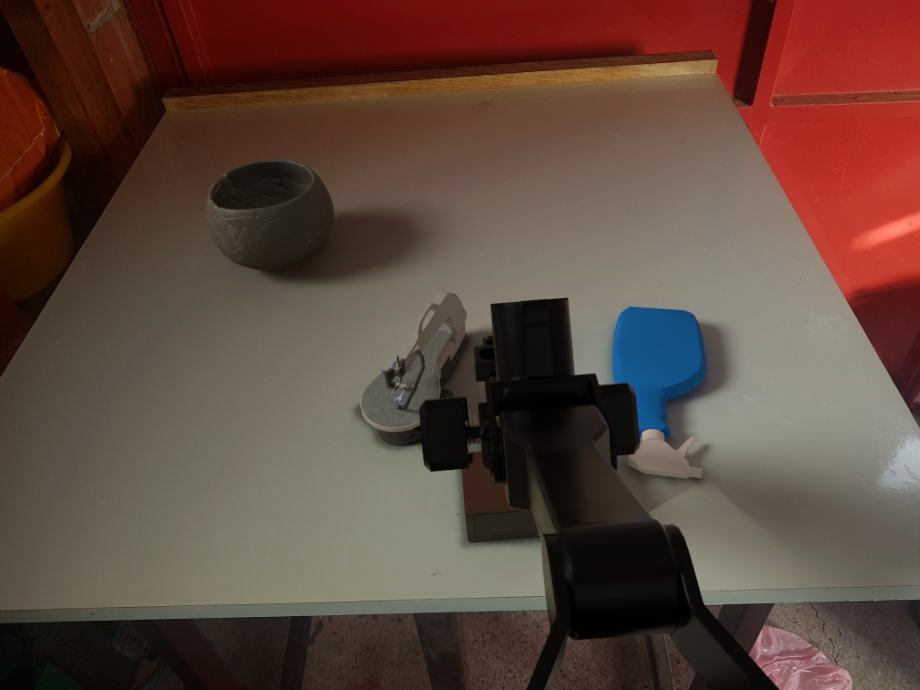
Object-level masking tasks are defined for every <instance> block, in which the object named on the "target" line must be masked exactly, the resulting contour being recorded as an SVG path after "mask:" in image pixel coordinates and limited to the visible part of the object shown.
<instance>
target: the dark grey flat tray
mask: <svg viewBox="0 0 920 690" xmlns="http://www.w3.org/2000/svg"><path fill="white" fill-rule="evenodd" d="M464 518H465V519H464V520H465V526H466V527H465V528H466V537H467V542H468V543H474V542H485V541H487V542H488V541H498V540H508V539H509V540H510V539H522V538H532V537H539V534H538V531H537V527H536V524H535V520H534V517H533V513H532V512H525V511H521V510H519V511H507V512H495V513H483V514H472V515H465V514H464Z"/></svg>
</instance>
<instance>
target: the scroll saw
mask: <svg viewBox="0 0 920 690" xmlns="http://www.w3.org/2000/svg"><path fill="white" fill-rule="evenodd" d="M467 318H468V313H467V310H466V309H465V307H464V305H463V303H462V301H461V299H460V297H459V296H458V295H457V294H456V293H455V292H449V291H447V290H441V291H440V292H439V293H438V294H437V296H436V298H435V299H434V301H433V302H430V303H428V304H427V306H426V307H425V308H424V310H423V312H422V313H421V315H420V317H419V319H418V321H417V323H416V326H415V330H414V335H413V336H412V339H411V341H410V342H409V344H408V345H407V348H406V350H405V352H404V354H403V355H402V357H401V359H400V357H399V355H397V356H396V360H394V361H393V362H392V363H391V364H392V365H391V366H390V367H388V368H387V369H381V370H380V373H379V374H378V375H377V376H376V377H374V378H372V380H371V381H370V382H369V383H368V385H366V387H365V388H364V390H363V392H362V394H361V396H360V400H359V401H360V402H359V404H360V405H359V406H358V408H359V411H360V413H361V415H362V417H363V418H364V420H365V421H366V422H367V423H368V424H369V425H370V426H372V428H376V431H377V434H378V437H379V439H380V440H381V441H383V442H384V443H386V444H389V445H391V446H397V447H401V446H403V447H404V446H406V445H410V444H411V443H414V442H415V441H418V440H421V429H420V417H419V407H420V406H421V405H422V403H423V402H424V401H425V400H426V399H437V398H449V397H456V394H455V393H454V391H452V390H451V389H447V388H443V387H442V385H443V384H444V383H445V382H446V381H447V380H448V378H449V377H450V375H451V374H452V372H453V370H454V368H455V366H456V364H457V362H458V359H459V357H460V355H461V353H462V352H463V350H464V348H465V346H466V344H467V342H468V339H467V337H468V336H467V334H466V321H467Z"/></svg>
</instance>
